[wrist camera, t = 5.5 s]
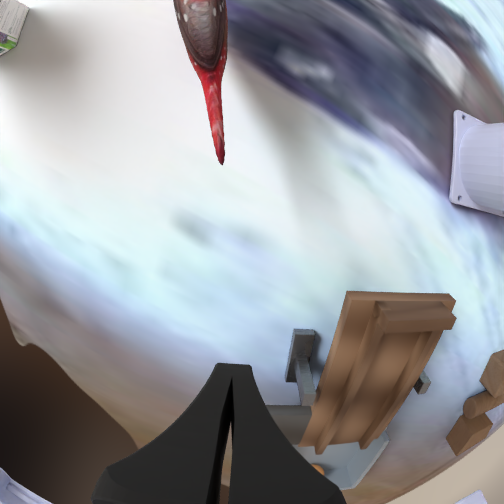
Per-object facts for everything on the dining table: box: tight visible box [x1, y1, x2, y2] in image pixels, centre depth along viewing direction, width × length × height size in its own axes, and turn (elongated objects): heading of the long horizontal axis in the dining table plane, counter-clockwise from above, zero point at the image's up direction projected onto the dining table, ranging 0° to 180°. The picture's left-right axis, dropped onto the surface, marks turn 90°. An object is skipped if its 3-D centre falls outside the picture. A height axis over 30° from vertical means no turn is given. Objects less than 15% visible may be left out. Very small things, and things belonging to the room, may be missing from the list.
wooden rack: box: [266, 291, 456, 455], centre depth 17 cm, size 16×12×3 cm
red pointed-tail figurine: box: [173, 0, 228, 165], centre depth 11 cm, size 3×18×10 cm, turn 9°
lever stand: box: [285, 329, 431, 406], centre depth 20 cm, size 5×11×6 cm, turn 85°
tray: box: [292, 427, 390, 490], centre depth 24 cm, size 12×12×4 cm
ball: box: [311, 464, 324, 475], centre depth 25 cm, size 3×3×3 cm
